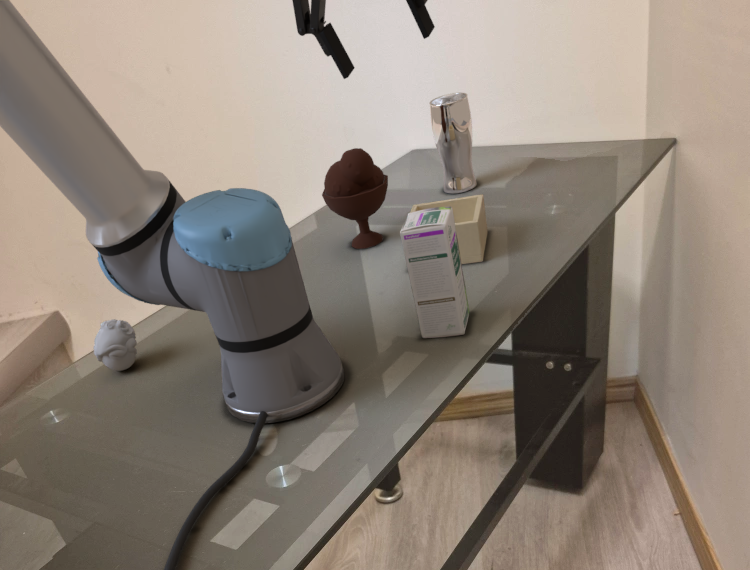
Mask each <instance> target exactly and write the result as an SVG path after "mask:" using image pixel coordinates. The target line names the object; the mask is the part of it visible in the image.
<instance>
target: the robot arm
mask: <svg viewBox="0 0 750 570" xmlns="http://www.w3.org/2000/svg"><path fill="white" fill-rule="evenodd" d="M405 1H406V4H407V6H408V7H409V10H410V12H411V14H412V17H413V18H414V21H415V23H416V26H417V27H418V29H419V31H420V34H421V36H422V38H423V39H424V40H425V39H427V38H429V37H430V35H431V34H432V32H433V31H434V30H435V28H436V26H435V24H434V22H433V20H432V18H431V15H430V13H429V10H428V9H427V6H426V3H427V2H428V1H429V0H405ZM291 2H292V6H293V12H294V19H295V24H296V30H297V33H298V35H299V36H301V37H305V35H313V37H315V39H316V41H317V42H318V45H319V46H320V48H321V50H322V52H323V53H324V55H325V56H326V57H331V58H332V60H333V62H334V64H335V66H336V67H337V69H338V71H339V73H340V74H341V76H342V78H343V80H345V79H348V78H349V77H350V76H351V74H352V73H353V71H354V70H355V65H354V64H353V62H352V60H351V58H350V56H349V54H348V52H347V51H346V49H345V47H344V45H343V43H342V41H341V40H340V38H339V36H338V34H337V32H336V30H335V28H334V26H333V24H332V23H331V22H329V23H327V20H325V17H326V16H325V15H326V5H327V4H326V3H327V0H310V2H309V0H292V1H291ZM326 23H327V24H326ZM325 24H326V25H325ZM0 128H1V129H2V130H3V131H4V132H5V133H6V134H7V135H8V137H10V138H11V140H12V141H13V142H14V143H15V144H16V145H17V146H18V147H19V148H20V149H21V151H23V152H24V154H25V155H26V156H27V157H28V158H29V159H30V160H31V161H32V162H33V163H34V164H35V165H36V167H37V168H38V169H39V171H41V172H42V173H43V174H44V176H46V178H48V180H49V181H50V182H51V183H53V185H54V186H55V187H56V188H57V189H58V190H59V191H60V193H61V194H62V195H63V196H64V197H65V198H66V199H67V200H68V201H69V202H70V203H71V204H72V206H74V208H75V209H76V210H77V211H78V212H79V213H80V214H81V215H82V216H83V217H84V218H85V237H86V239H87V241H88V242H89V244H90V245H92V247H93V248H94V249H95V250H96V251H97V254H98V256H97V257H96V259H97V262H98V264H99V265H98V266H99V268H100V269H101V271H102V273H103V275H104V276H105V278H106V279H107V280H108V281H109V283H110V284H111V285H112V286H113V287H114V288H116V290H118V292H120V293H122V294H124V295H126V296H128V297H130V298H132V299H134V300H136V301H138V302H142V303H145V304H149V305H155V306H166V307H171V308H172V307H173V308H178V309H185V310H191V311H195V312H196V311H197V312H201V313H205V314H206V315H207V319H208V321H209V323H210V325H211V328H212V331H213V333H214V335H215V338H216V340H217V343H218V346H219V349H220V363H221V364H220V365H221V389H222V396H223V399H224V402H225V404H226V407H227V410H228V411H229V413H230V414H231V416H233V417H235V418H236V419H238V420H240V421H243V422H246V423H252V424H254V426H253V429H252V431H251V434H250V436H249V439H248V443H247V445H246V448H245V450H244V451H243V452H242V453H241V455H240V456H239V458H238V459H237V460H236V461H235V462H234V463H233V464H232V465H231V466H230V467H229V468H228V469H227V470H226V471H225V472H224V473H223V474H222V475H221V476H219V478H217V479H216V480H215V481H214V482H213V483H212V484H211V485H210V486H209V487H208V488H207V490H206V491H204V493H202V495H201V497H200V498H199V499H198V501H197V502H196V503H195V505H194V506H193V507H192V509H191V511H190V512H189V514H188V515H187V517H186V518H185V520H184V522H183V524H182V526H181V528H180V530H179V532H178V534H177V536H176V537H175V540H174V542H173V544H172V547H171V550H170V552H169V554H168V557H167V560H166V562H165V566H164V568H163V570H176V567H177V564H178V561H179V559H180V555H181V553H182V550H183V548H184V546H185V544H186V541H187V539H188V537H189V535H190V532H191V530H192V529H193V527H194V525H195V523H196V521H197V520H198V518H199V517H200V515H202V514H201V513H203V511H204V510H205V508H206V506H207V505H208V504H209V502H210V501H211V500H212V499H213V498H214V496H216V495H217V493H218V492H219V491H221V489H222V488H223V487H225V486H226V485H227V484H228V483H229V482H230V481H231V480H232V479H233V478H234V477H235V476H236V475H237V474H238V473H239V472H240V471H241V470H242V469H243V468H244V466H246V464H247V463H248V462H249V460H250V459H251V457H252V455H253V454H254V452H255V451H256V447H257V445H258V442H259V439H260V435H261V433H262V431H263V428H264V425H265V424H273V423H279V422H284V421H289V420H292V419H295V418H298V417H301V416H303V415H306V414H308V413H310V412H312V411H314V410H316V409H318V408H319V407H321V406H323V405H324V404H326V403H327V402H328V401H330V400H331V399H332V398H333V397H335V395H336V394H337V393H338V392H339V390H340V389H341V387H342V386H343V384H344V381H345V370H344V367H343V363H342V360H341V358H340V356H339V354H338V352H337V351H336V349H335V348H334V346H333V345H332V343H331V342H330V341H329V339H328V337H327V336H326V335H325V333H324V332H323V331H322V329H321V327H320V326H319V324H318V323H317V321H315V318H314V316H313V312H312V308H311V305H310V300H309V298H308V294H307V290H306V286H305V283H304V279H303V276H302V275H303V274H302V272H301V268H300V264H299V261H298V257H297V253H296V250H295V246H294V242H293V237H292V233H291V230H290V227H289V226H288V224H287V222H286V219H285V218H284V215H283V212H282V209H281V207H280V205H279V203H278V202H277V201H276V200H275V199H274V198H273V197H272V196H271V195H269V194H267V193H265V192H263V191H261V190H257V189H253V188H246V187H232V188H228V189H226V190H222V189H221V190H220V189H218V190H217V189H216V190H211V191H208V192H203V193H201V194H199V195H196V196H194V197H192V198H190V199H188V200H187V201H186V200H185V199H184V198H183V196H182V195H181V194H180V192H179V191H178V189H176V187H175V186H174V185H173V183H172V182H171V181H170V180H169V178H168V176H166V175H165V174H164V173H163V172H161V171H158V170H149V169H144V168H143V167H142V165H141V164H140V162H138V160H137V159H136V158H135V157H134V155H133V154H132V153H131V152H130V151H129V149H128V148H127V147H126V145H125V144H124V143H123V142H122V140H121V138H119V136H118V135H117V134H116V132H115V131H114V130H113V129H112V128H111V126H110V125H109V124H108V122H106V120H105V119H104V118H103V117H102V115H101V113H100V112H99V111H98V110H97V109H96V107H95V106H94V105H93V104H92V102H91V101H90V100H89V99H88V97H87V96H86V94H84V92H83V91H82V90H81V88H80V87H79V86H78V85H77V83H76V82H75V81H74V80H73V78H72V77H71V76H70V75H69V73H68V72H67V71H66V69H64V66H62V65H61V63H60V62H59V61H58V60H57V58H56V57H55V56H54V54H53V53H52V52H51V51H50V50H49V48H48V46H46V44H45V43H44V42H43V41H42V39H41V38H40V37H39V36H38V34H37V33H36V32H35V30H34V29H33V28H32V26H31V25H30V24H29V23H28V22H27V20H26V19H25V18H24V16H23V15H22V14H21V12H19V10H18V9H17V7H15V5H14V4H13V2H11V0H0Z"/></svg>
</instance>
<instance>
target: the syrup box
mask: <svg viewBox="0 0 750 570" xmlns="http://www.w3.org/2000/svg"><path fill="white" fill-rule="evenodd" d="M399 235H400V240H401V245H402V249H403V254H404V260H405V264H406V269H407V274H408V278H409V282H410V288H411V289H410V290H411V292H412V298H413V302H414V307H415V312H416V316H417V321H418V326H419V330H420V335H421V338H423V339H431V338H432V339H434V338H446V337H455V336H462V335H465V333H466V328H467V325H468V321H469V316H470V308H469V301H468V296H467V289H466V284H465V282H466V281H465V276H464V271H463V270H464V269H463V264H462V263H461V257H460V251H459V245H458V239H457V233H456V227H455V221H454V215H453V209H452V207H436V208H429V209H424V210H420V211H416V212H412V213H410V212H408V213H407V217H406V219H405V221H404V222H403V224H402V226H401V229H400V231H399Z"/></svg>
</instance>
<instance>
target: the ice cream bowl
mask: <svg viewBox="0 0 750 570" xmlns="http://www.w3.org/2000/svg"><path fill="white" fill-rule="evenodd" d="M323 185H324V186H323V187H324V189H323V191H322V193H321V196H322V199H323V201H324V203H325V204H326V206H327V207H328V208H329V210H330V211H331V212H333V213H334V214H336V215H338V216H340V217H342V218H344V219H347V220H350V221H356V223H357V224H358V225H357V226H358V231H359V233H358V234H356V236H355V237H354V238H353V239H352V241H351V248H354V249H356V250H359V249H361V250H362V249H363V250H364V249H368V248H371V247H375V246H377V245H379V244H380V243H382V242H383V239H384V236H383V234H381V233H379V232H377V231H373V230H371V227H370V223H369V218H370V217H371V216H372V215H374V214H376V213H377V211H379V210H380V208H381V207H382V205H383V204H384V202H385V200H386V196H387V192H388V187H389V175H387V174H384V171H382V169H381V167H379V166H378V165H376V164H375V163H374V160H373V158H372V156H371V155H370V153H368V152H367V151H366V150H364V149H363V148H361V147H360V148H358V147H357V148H356V147H353V148H351V149H347V150H345V151H344V152H343V153H342V155H341V157H340V160H337V161H335V162H334V163H333V164H332V165H330V167H329V168H328V170H327V172H326V174H325V176H324V182H323Z"/></svg>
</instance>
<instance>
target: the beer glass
mask: <svg viewBox="0 0 750 570" xmlns="http://www.w3.org/2000/svg"><path fill="white" fill-rule="evenodd" d="M429 109H430V110H429V111H430V123H431V131H432V136H433V140H434V145H435V148H436V150H437V154H438V157H439V159H440V163H441V167H442V172H443V173H442V174H443V191H444V193H446V194H461V193H466V192H469V191H470V190H471V191H472V190H473V189H474V188H476V186H477V184H478V183H477V179H476V176H475V172H474V168H473V121H472V120H473V118H472V113H471V108H470V102H469V98H468V93H466V92H452V93H447V94H444V95H441V96H438V97H435V98H433V99H432V100H430V101H429Z"/></svg>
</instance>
